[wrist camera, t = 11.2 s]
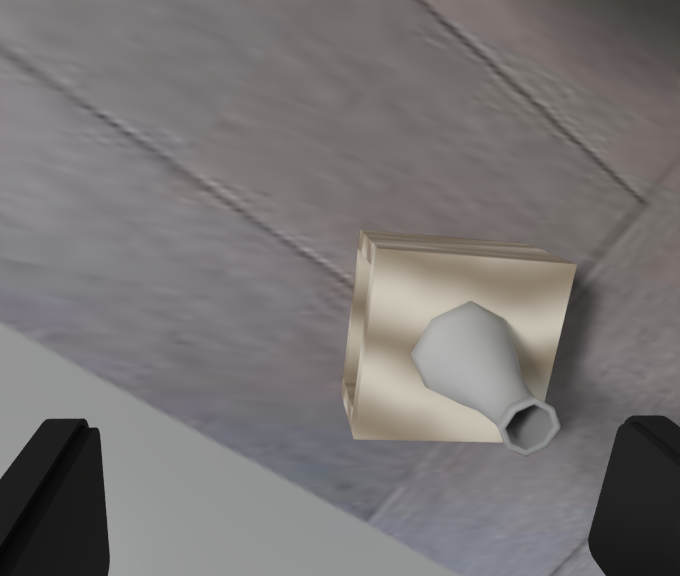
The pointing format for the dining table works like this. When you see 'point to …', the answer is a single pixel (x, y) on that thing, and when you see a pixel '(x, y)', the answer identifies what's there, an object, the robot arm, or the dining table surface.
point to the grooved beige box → (431, 301)
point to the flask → (484, 375)
